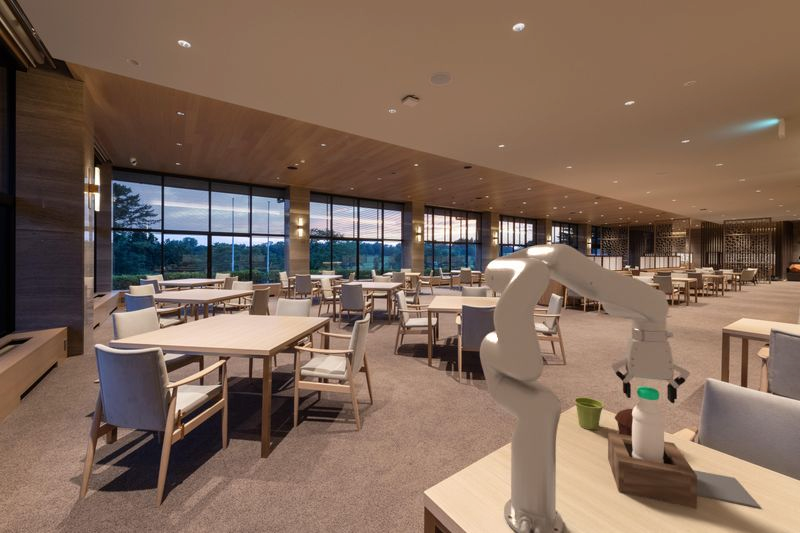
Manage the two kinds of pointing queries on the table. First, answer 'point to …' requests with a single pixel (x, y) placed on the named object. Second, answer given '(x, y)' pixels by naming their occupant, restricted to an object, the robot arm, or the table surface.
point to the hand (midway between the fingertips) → (649, 398)
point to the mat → (723, 489)
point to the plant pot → (588, 412)
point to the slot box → (652, 473)
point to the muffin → (625, 421)
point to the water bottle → (648, 426)
